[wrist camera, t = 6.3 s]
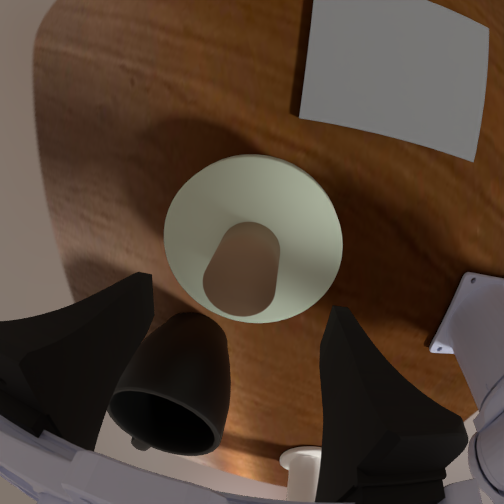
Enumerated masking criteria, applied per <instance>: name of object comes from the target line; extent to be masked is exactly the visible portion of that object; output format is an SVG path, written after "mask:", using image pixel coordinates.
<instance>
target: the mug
mask: <svg viewBox="0 0 504 504" xmlns="http://www.w3.org/2000/svg"><path fill="white" fill-rule="evenodd" d="M230 386H231V380H230V363H229V355H228V348H227V338H226V335H225V333H224V331H223V330H222V328H221V327H220V326H219V325H218V324H217V323H216V322H214V321H213V320H212V319H210V318H208V317H206V316H204V315H201V314H197V313H191V312H187V313H180V314H177V315H175V316H173V317H171V318H170V319H169V320H168V321H167V322H166V323H164V324H163V325H162V326H160V327H159V328H158V329H156V330H155V331H154V332H153V333H151V334H150V335H149V336H148V337H147V338H146V339H145V340H144V341H143V342H142V343H141V344H140V345H139V347H138V349H137V350H136V352H135V354H134V355H133V357H132V359H131V360H130V362H129V364H128V365H127V367H126V369H125V370H124V372H123V374H122V376H121V377H120V379H119V381H118V384H117V386H116V388H115V391H114V393H113V395H112V398H111V400H110V403H109V405H108V408H107V411H108V413H109V415H110V417H111V418H112V419H113V420H114V422H115V423H116V424H117V425H118V426H119V427H120V428H121V429H122V430H124V431H125V432H126V433H128V434H129V435H131V436H132V441H131V443H132V445H133V446H134V447H135V448H136V449H138V450H142V451H146V450H147V449H149V448H150V447H153V448H155V449H158V450H161V451H164V452H168V453H172V454H177V455H185V456H198V455H204V454H208V453H210V452H212V451H214V450H215V449H216V448H217V447H218V446H219V444H220V442H221V439H222V435H223V431H224V427H225V422H226V418H227V414H228V409H229V403H230Z"/></svg>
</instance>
